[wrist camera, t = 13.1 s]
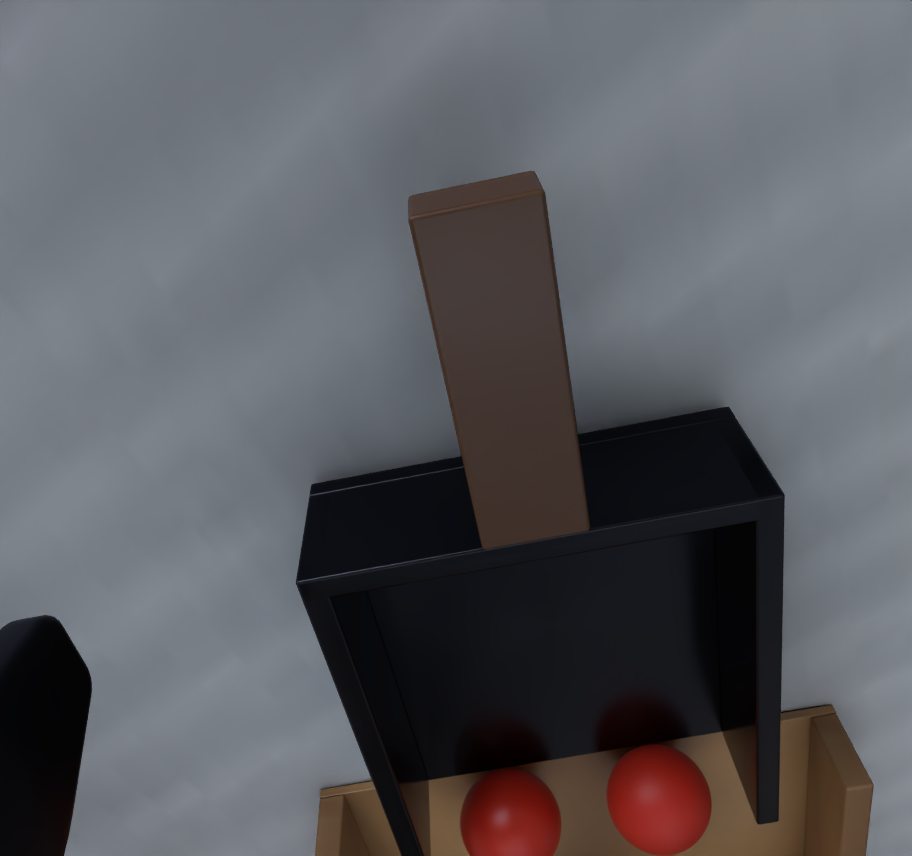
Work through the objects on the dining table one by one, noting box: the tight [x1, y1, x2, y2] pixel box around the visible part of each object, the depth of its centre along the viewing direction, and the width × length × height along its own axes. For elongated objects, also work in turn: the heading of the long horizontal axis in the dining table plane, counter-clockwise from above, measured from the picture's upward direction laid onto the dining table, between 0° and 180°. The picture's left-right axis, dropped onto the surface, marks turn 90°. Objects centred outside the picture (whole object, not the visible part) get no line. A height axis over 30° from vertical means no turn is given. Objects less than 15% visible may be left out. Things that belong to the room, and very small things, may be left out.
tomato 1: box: [460, 768, 561, 856], centre depth 25 cm, size 3×3×3 cm
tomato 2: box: [607, 744, 712, 856], centre depth 25 cm, size 3×3×3 cm
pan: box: [296, 171, 785, 856], centre depth 20 cm, size 18×10×4 cm, turn 11°
